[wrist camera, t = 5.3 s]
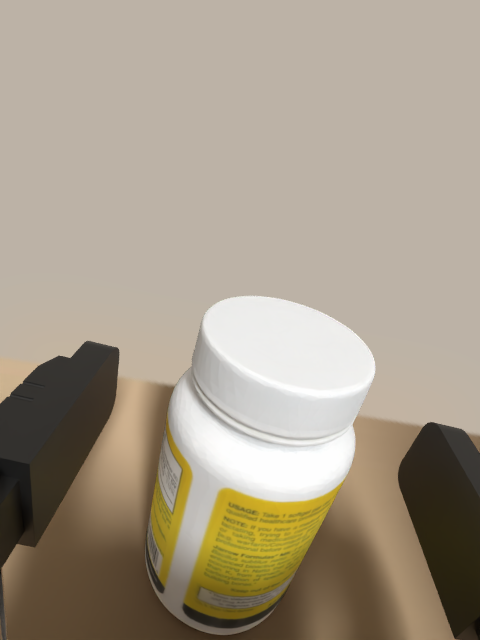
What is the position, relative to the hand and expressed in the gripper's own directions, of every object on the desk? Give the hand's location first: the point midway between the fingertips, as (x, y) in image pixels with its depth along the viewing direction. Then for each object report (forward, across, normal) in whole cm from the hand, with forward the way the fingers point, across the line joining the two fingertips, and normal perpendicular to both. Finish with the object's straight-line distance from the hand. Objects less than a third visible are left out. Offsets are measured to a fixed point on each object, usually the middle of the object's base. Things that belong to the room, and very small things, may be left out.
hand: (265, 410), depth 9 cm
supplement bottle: (0, 0, +6) cm, 6 cm away
